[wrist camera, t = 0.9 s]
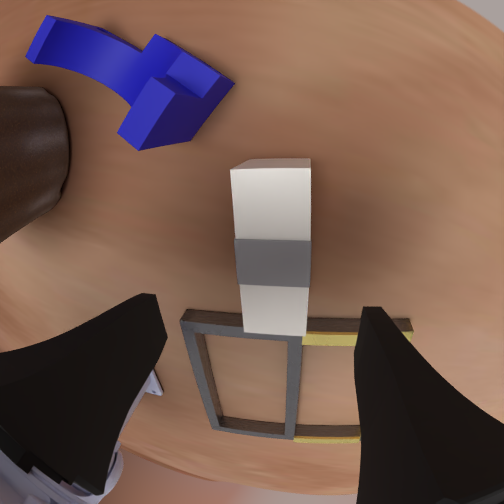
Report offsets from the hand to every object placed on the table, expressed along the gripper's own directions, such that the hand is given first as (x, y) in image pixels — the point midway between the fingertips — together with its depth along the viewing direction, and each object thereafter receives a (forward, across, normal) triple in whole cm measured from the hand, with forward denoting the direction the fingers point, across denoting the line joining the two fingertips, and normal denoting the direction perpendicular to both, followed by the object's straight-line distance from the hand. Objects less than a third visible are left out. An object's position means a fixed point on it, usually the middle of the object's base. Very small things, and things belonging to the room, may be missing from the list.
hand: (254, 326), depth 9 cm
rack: (+9, -1, +14) cm, 17 cm away
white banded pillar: (+9, 0, 0) cm, 9 cm away
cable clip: (+10, +8, -12) cm, 17 cm away
